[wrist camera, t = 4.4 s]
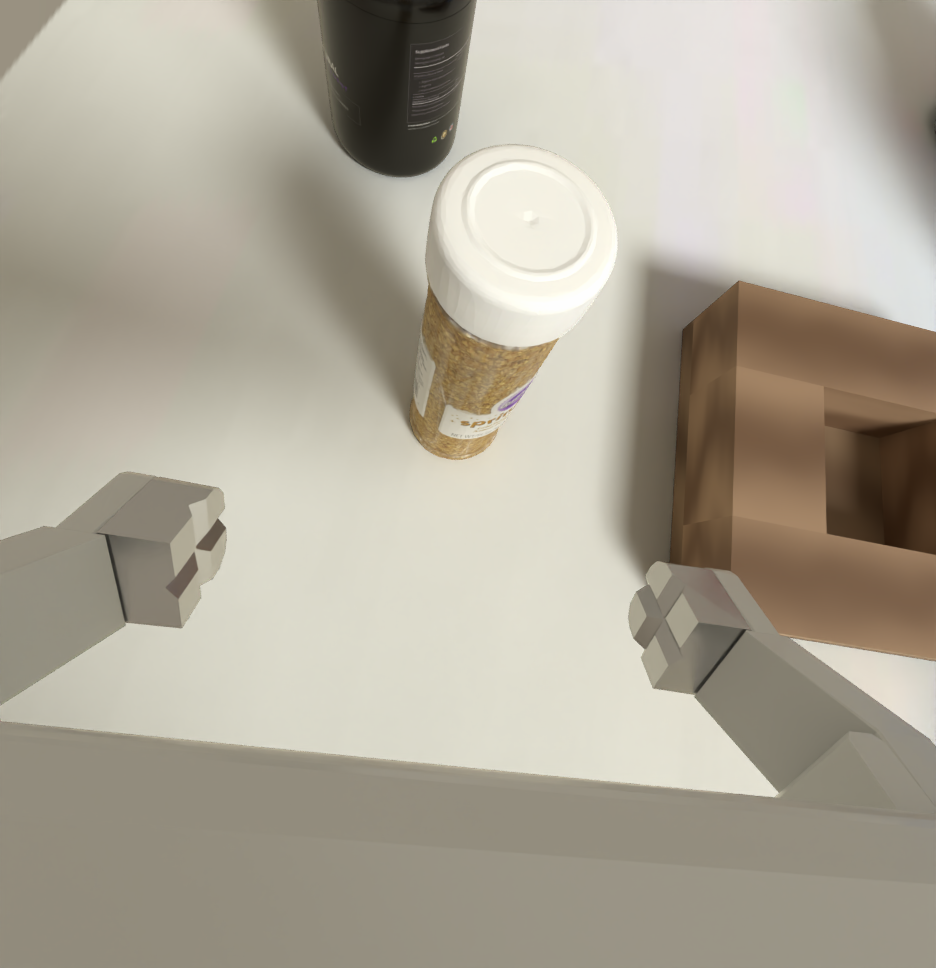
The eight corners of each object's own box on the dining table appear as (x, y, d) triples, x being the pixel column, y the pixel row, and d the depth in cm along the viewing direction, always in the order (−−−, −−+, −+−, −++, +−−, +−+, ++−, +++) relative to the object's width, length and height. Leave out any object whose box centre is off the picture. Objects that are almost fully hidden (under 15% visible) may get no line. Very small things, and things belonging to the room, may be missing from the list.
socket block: (943, 662, 25) (1058, 678, 21) (666, 617, 23) (729, 625, 19) (924, 388, 29) (1018, 353, 25) (682, 329, 27) (738, 280, 23)
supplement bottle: (305, 124, 26) (237, -248, 14) (391, 62, 28) (392, -313, 16) (399, 206, 26) (407, -102, 14) (479, 139, 28) (544, -184, 16)
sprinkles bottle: (469, 479, 23) (569, 346, 10) (390, 429, 23) (391, 230, 10) (514, 406, 24) (655, 204, 12) (439, 358, 24) (496, 99, 11)
